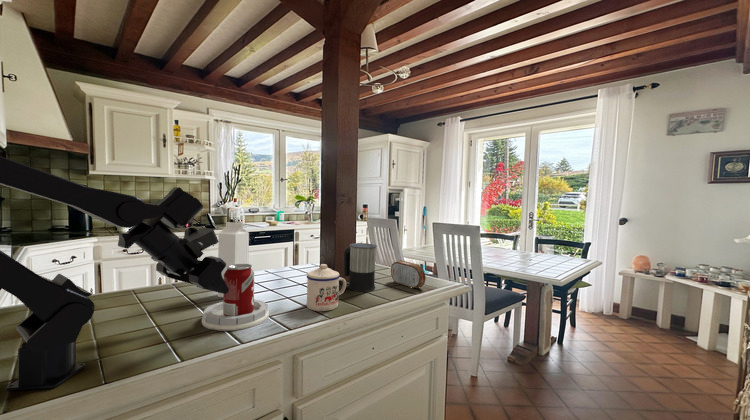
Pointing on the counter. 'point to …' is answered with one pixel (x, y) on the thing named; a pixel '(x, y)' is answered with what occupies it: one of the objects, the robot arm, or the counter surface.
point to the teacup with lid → (323, 289)
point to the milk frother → (360, 266)
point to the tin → (408, 274)
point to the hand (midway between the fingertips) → (215, 288)
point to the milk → (233, 246)
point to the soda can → (239, 290)
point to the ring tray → (234, 317)
